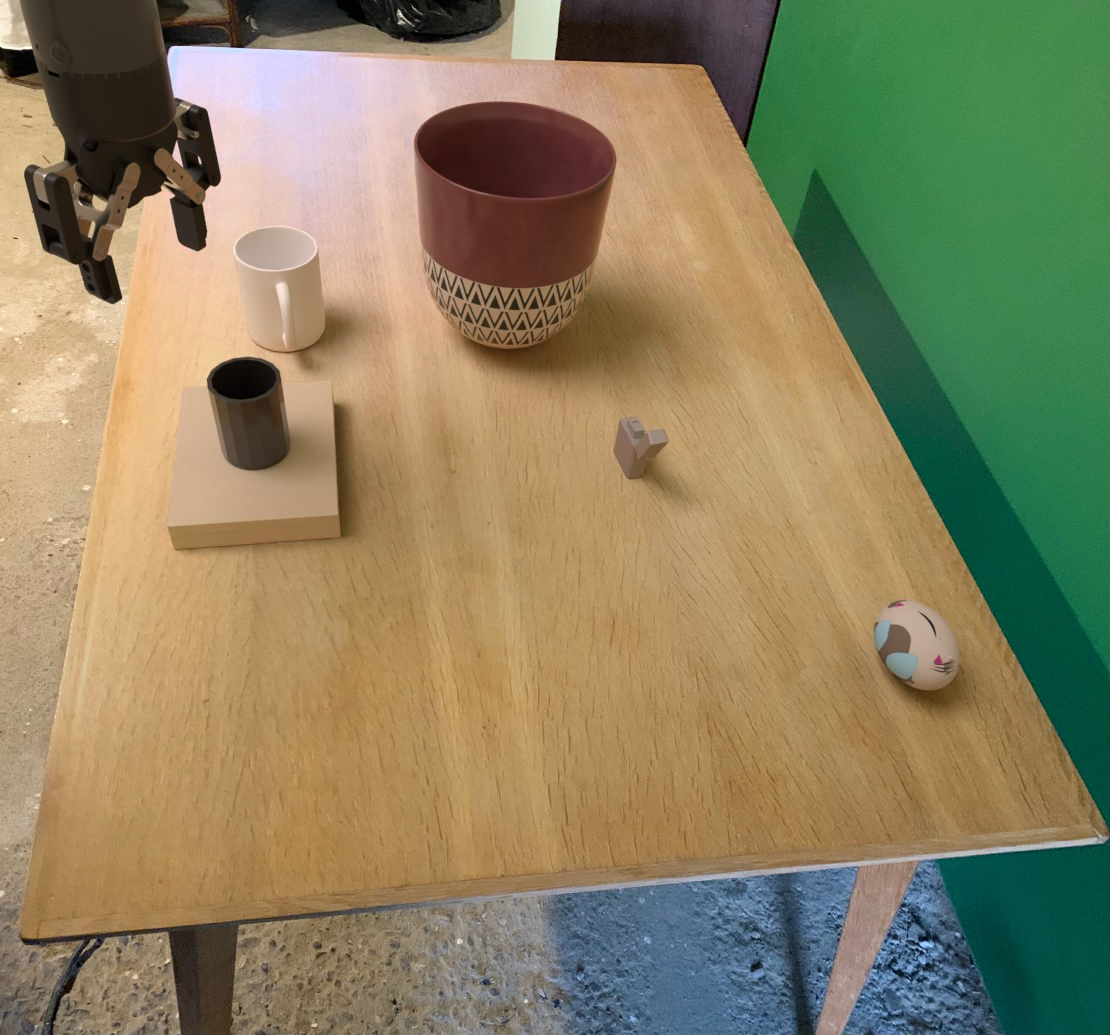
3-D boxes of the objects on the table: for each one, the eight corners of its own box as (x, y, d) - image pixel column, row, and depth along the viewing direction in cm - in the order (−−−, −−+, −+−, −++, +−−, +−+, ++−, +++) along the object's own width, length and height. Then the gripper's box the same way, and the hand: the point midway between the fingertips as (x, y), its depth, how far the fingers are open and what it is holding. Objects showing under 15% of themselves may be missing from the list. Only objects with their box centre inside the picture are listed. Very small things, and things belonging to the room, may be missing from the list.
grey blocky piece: (612, 450, 95) (624, 388, 89) (628, 447, 95) (641, 386, 90) (638, 500, 91) (652, 439, 85) (654, 497, 91) (670, 437, 85)
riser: (340, 537, 84) (338, 514, 82) (173, 549, 81) (166, 526, 79) (334, 403, 96) (331, 380, 93) (188, 410, 93) (182, 386, 91)
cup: (320, 303, 106) (312, 222, 99) (336, 371, 99) (328, 288, 91) (243, 310, 104) (229, 228, 97) (254, 380, 97) (239, 296, 89)
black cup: (261, 479, 84) (249, 411, 78) (207, 453, 85) (191, 385, 79) (304, 440, 87) (295, 372, 82) (251, 416, 89) (239, 348, 83)
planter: (400, 287, 110) (395, 105, 94) (558, 272, 115) (579, 96, 100) (438, 395, 98) (440, 206, 82) (613, 372, 103) (646, 191, 88)
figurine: (845, 639, 82) (872, 591, 77) (903, 624, 84) (932, 577, 79) (895, 717, 77) (927, 672, 72) (955, 701, 79) (990, 655, 74)
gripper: (137, -4, 64) (181, 215, 75) (-47, 60, 54) (35, 299, 66) (226, 27, 62) (256, 247, 74) (51, 99, 53) (118, 337, 64)
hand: (152, 271), depth 70 cm, fingers open, 8 cm apart
